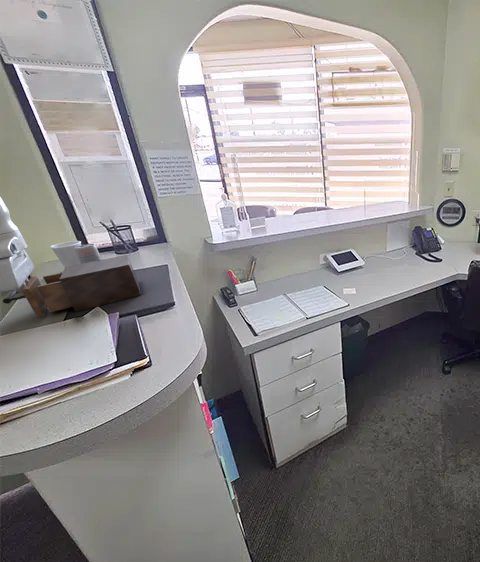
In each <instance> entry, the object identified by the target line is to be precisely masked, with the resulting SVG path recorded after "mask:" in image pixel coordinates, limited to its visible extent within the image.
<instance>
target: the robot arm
mask: <svg viewBox="0 0 480 562" xmlns="http://www.w3.org/2000/svg"><path fill="white" fill-rule="evenodd" d="M10 214H11V213H10V211H9V208H8V207H7V205H6V203H5V201H4V200H3V198H2V197H1V196H0V293H5V292H10V291H11V290H16V291H17V292H18V293H17V294H18V295H19V296H23V295H24V293H23V292H22V289H23V288H24V286H26V284H27V282H29V279H30V278H29V276H30V275H31V274H32V272H33V271H34V270H35V265H34V263H33V261H32V259H31V258H30V256H29V254H28V252H27V251H26V249H27V248H29V245H28V244H27V241H26V240H25V239H24V237H23V235H22V233H21V231H20V229H19V227H18V226H17V225H16V224H15V223H14V222H13V221H12V218H11V215H10Z"/></svg>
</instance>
